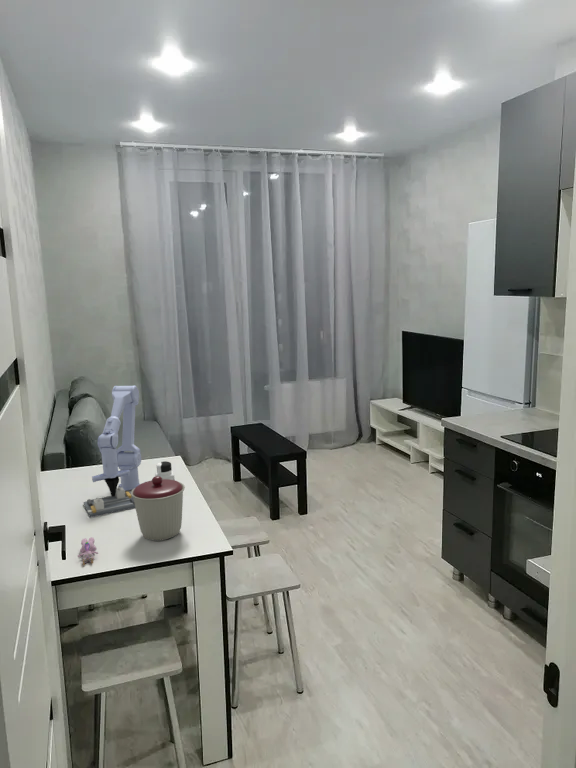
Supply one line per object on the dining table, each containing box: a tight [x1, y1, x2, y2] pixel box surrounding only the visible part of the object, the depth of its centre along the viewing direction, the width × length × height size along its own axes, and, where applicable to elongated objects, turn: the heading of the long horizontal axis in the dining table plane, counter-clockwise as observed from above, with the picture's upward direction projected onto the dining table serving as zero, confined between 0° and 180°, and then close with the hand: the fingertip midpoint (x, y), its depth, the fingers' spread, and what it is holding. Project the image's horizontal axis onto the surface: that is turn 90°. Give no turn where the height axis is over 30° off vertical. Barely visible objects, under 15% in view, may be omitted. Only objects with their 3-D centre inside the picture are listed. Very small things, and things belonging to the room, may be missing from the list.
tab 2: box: [115, 486, 126, 499], centre depth 237 cm, size 4×3×4 cm
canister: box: [130, 475, 186, 541], centre depth 202 cm, size 18×18×21 cm
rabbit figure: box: [77, 537, 99, 566], centre depth 190 cm, size 6×6×15 cm
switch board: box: [83, 491, 136, 518], centre depth 232 cm, size 15×20×2 cm
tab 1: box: [94, 497, 104, 510], centre depth 226 cm, size 4×3×4 cm
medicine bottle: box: [154, 460, 176, 481], centre depth 247 cm, size 7×7×12 cm
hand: (113, 495), depth 236 cm, fingers closed
